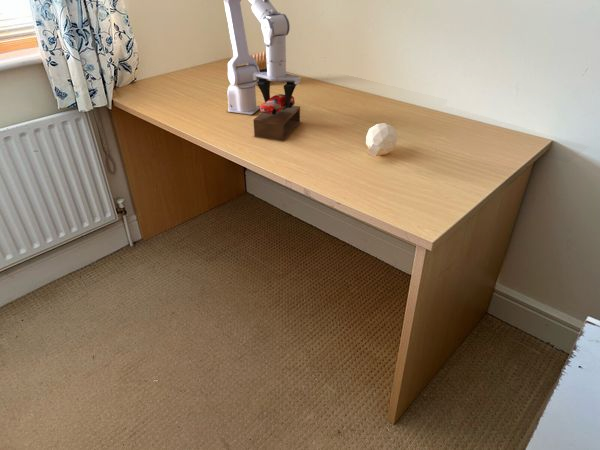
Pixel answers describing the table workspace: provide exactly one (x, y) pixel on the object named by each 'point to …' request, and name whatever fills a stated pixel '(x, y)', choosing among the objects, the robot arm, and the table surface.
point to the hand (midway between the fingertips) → (277, 104)
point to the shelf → (277, 123)
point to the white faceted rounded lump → (381, 139)
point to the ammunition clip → (261, 61)
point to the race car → (275, 104)
